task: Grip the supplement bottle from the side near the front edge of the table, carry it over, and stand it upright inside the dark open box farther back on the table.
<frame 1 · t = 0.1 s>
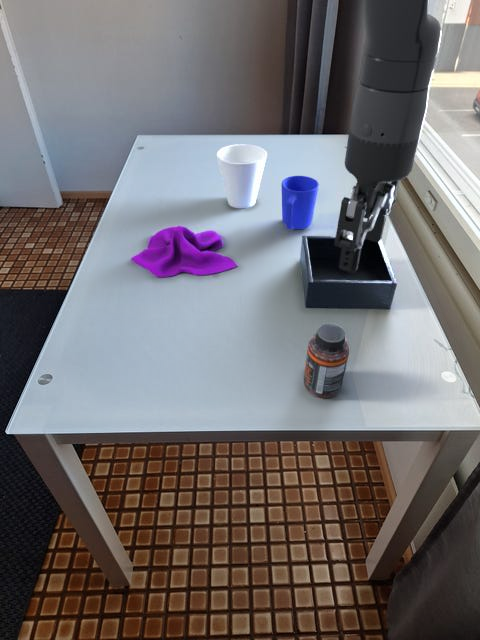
hand: (360, 254, 62), 22 cm above the table, tool pointing down, fingers open, 8 cm apart
cloth: (188, 254, 101), on the table
mug: (294, 228, 110), on the table
dark open box: (342, 283, 93), on the table
supplement bottle: (322, 385, 74), on the table
cup: (241, 202, 119), on the table
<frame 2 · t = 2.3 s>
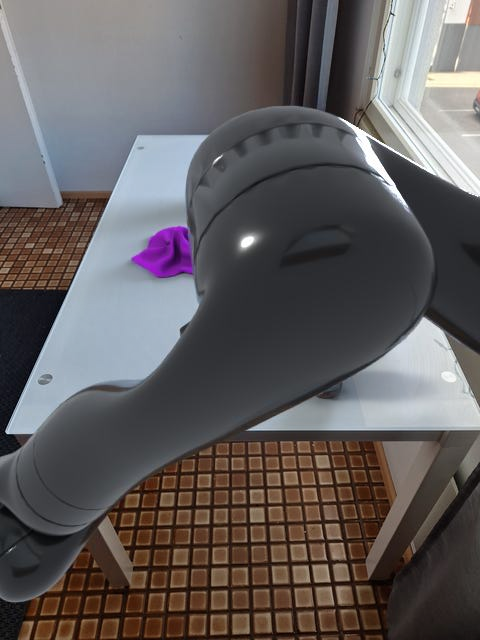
hand: (286, 321, 54), 20 cm above the table, tool horizontal, fingers open, 8 cm apart
nothing on the table moved.
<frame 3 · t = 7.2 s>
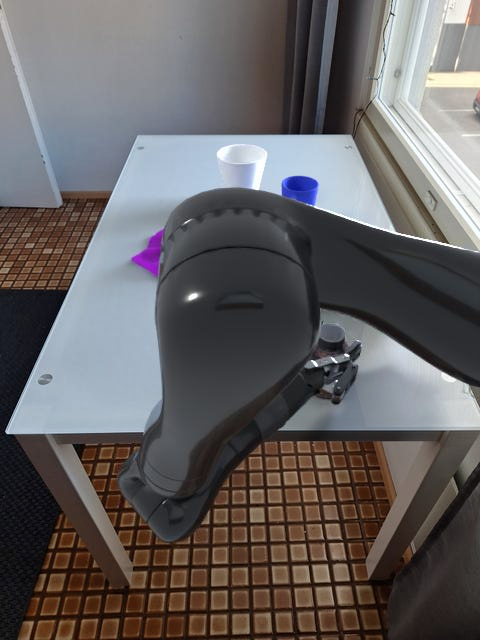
hand: (338, 334, 69), 9 cm above the table, tool horizontal, fingers closed on supplement bottle, 6 cm apart
supplement bottle: (322, 385, 74), on the table, touching gripper
everything else where it was.
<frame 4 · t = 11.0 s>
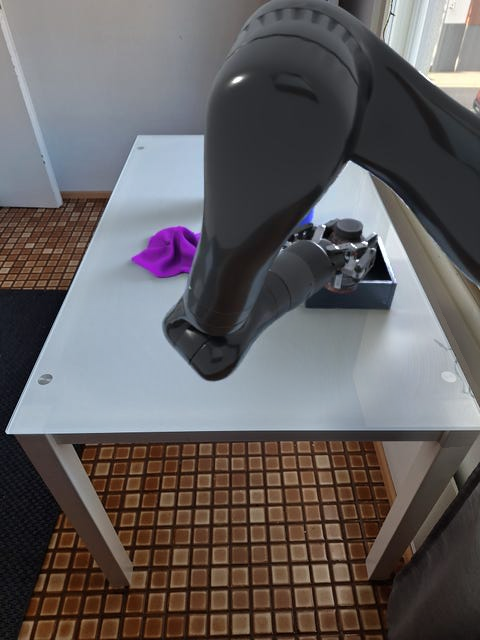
hand: (356, 231, 74), 18 cm above the table, tool horizontal, fingers closed on supplement bottle, 6 cm apart
supplement bottle: (339, 285, 79), point 8 cm above the table, touching gripper
everything else where it was.
when the fingers open (10 cm above the table, at t = 15.2 s): supplement bottle stays where it is, resting on dark open box.
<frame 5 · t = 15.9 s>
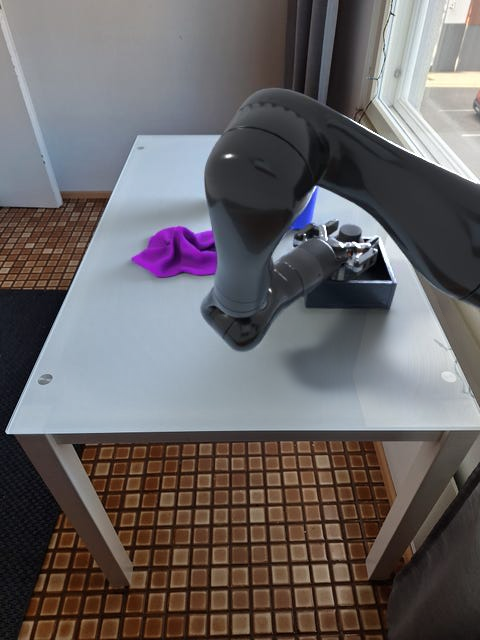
hand: (356, 231, 87), 11 cm above the table, tool horizontal, fingers open, 8 cm apart
supplement bottle: (342, 280, 93), point 1 cm above the table, touching dark open box
everything else where it was.
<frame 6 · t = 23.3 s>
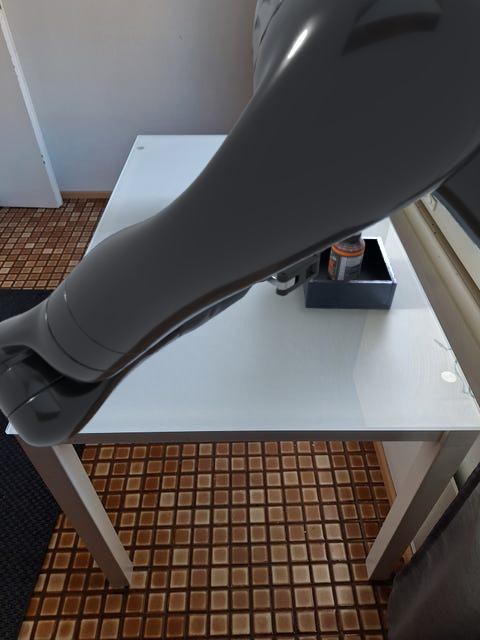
hand: (293, 224, 55), 28 cm above the table, tool horizontal, fingers open, 8 cm apart
nothing on the table moved.
at the end: supplement bottle inside the target area in the dark open box (0.2 cm from its centre), point 0.8 cm above the dark open box's base; supplement bottle tilted 0°; the gripper is holding nothing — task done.
